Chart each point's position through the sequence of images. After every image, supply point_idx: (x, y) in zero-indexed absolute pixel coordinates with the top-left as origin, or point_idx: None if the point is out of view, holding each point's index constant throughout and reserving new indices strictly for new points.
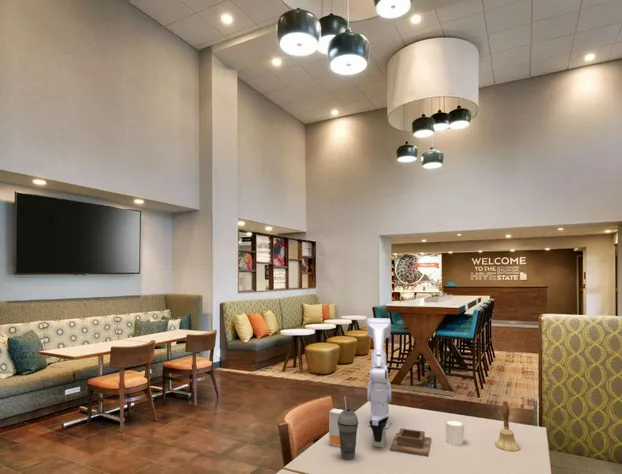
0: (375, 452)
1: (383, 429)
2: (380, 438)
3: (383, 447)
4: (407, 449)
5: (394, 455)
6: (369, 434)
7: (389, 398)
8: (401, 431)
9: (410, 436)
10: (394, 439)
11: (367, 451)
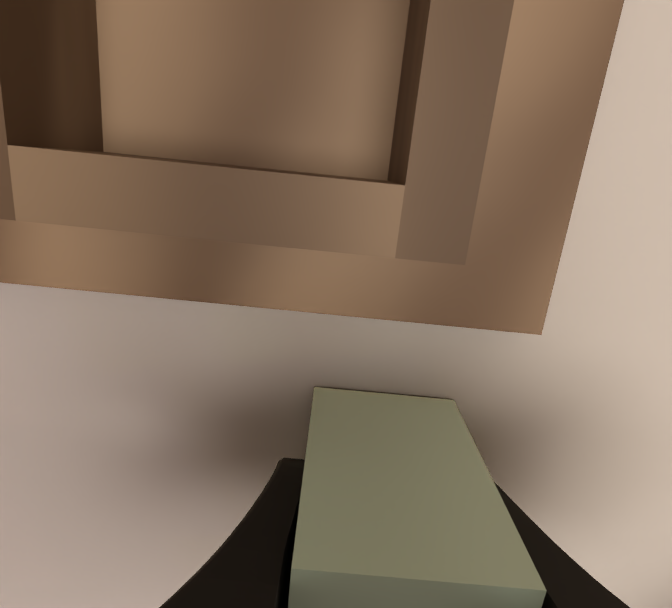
0: (597, 470)
1: (478, 593)
2: (520, 518)
3: (452, 402)
4: (568, 62)
5: (667, 254)
6: (90, 569)
7: None
8: (128, 185)
9: (67, 4)
10: (215, 290)
11: (580, 545)
